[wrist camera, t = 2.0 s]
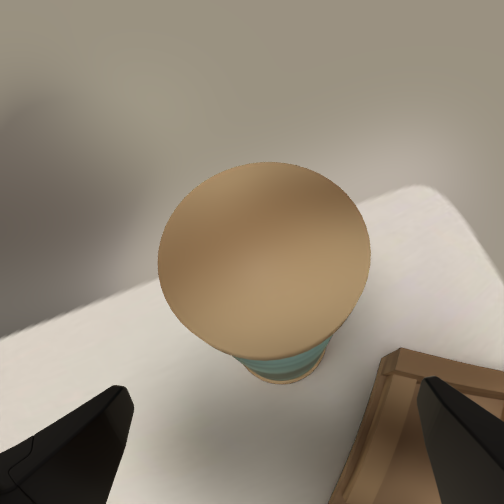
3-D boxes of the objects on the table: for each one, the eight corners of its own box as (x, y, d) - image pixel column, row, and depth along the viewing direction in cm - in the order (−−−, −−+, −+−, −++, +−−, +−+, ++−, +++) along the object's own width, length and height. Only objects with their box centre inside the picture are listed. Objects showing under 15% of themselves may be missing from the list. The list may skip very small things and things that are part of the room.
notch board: (469, 530, 11) (496, 546, 7) (320, 518, 14) (325, 542, 10) (517, 387, 15) (551, 380, 11) (381, 358, 18) (400, 347, 15)
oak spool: (343, 345, 19) (412, 254, 7) (274, 401, 18) (238, 403, 6) (287, 283, 21) (275, 136, 10) (221, 334, 20) (126, 236, 9)
